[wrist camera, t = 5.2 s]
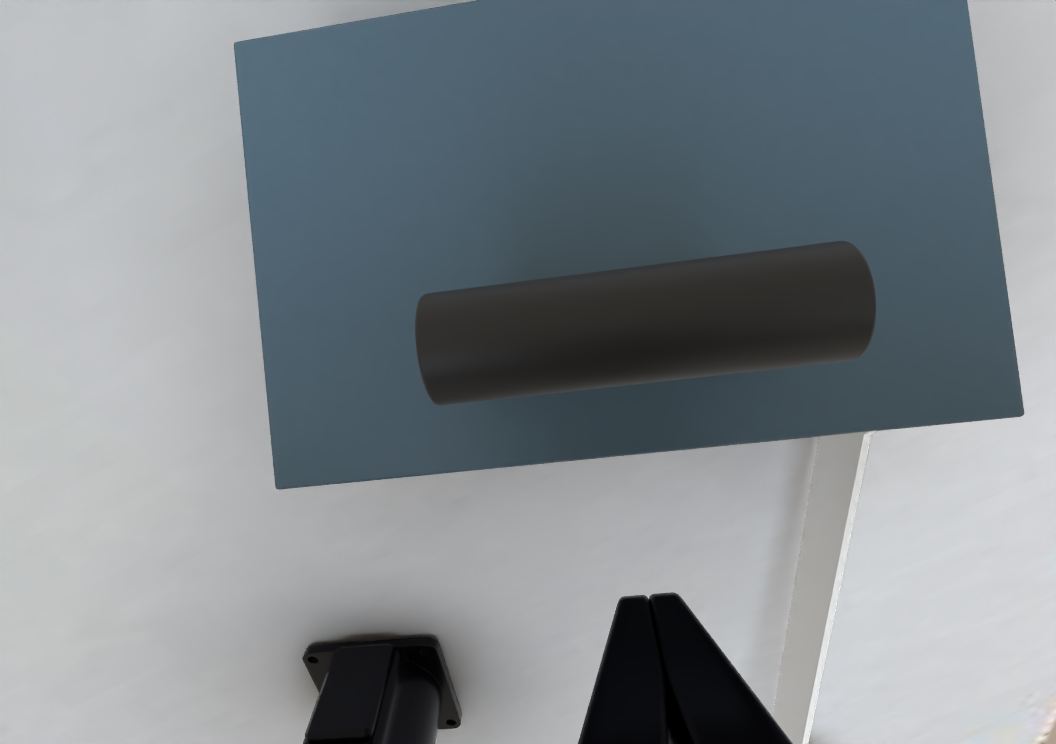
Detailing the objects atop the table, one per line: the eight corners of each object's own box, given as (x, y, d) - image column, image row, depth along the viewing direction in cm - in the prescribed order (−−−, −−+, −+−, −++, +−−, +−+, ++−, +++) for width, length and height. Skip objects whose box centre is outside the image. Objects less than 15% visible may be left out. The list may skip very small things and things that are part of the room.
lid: (998, 414, 11) (1366, 438, 6) (292, 484, 12) (79, 555, 7) (933, -55, 11) (1229, -429, 6) (251, 60, 12) (18, -168, 7)
